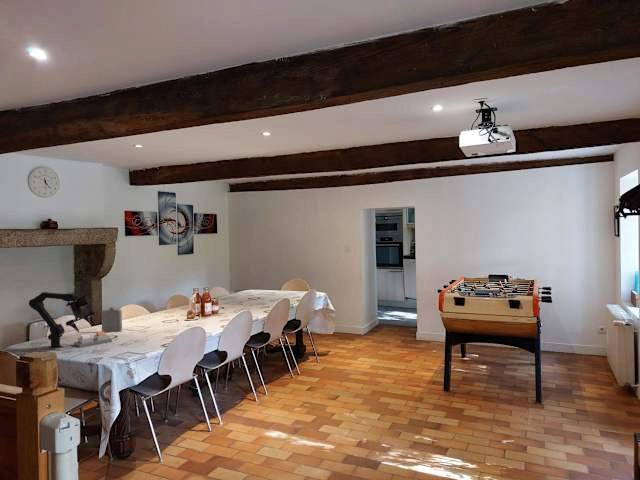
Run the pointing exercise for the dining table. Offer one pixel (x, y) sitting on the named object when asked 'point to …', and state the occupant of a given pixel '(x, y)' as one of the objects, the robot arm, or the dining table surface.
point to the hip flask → (111, 320)
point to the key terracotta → (100, 333)
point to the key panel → (92, 341)
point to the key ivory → (85, 336)
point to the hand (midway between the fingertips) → (85, 329)
